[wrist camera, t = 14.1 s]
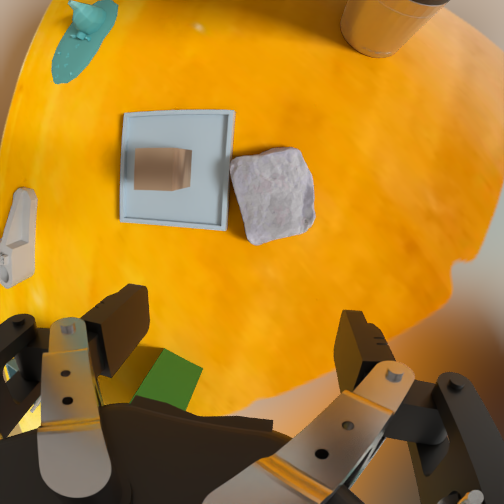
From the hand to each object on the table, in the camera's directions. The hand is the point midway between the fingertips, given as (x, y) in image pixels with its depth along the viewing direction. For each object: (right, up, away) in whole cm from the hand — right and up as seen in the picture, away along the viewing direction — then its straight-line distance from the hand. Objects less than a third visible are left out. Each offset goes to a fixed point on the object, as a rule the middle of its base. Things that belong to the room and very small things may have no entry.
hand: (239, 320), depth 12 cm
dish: (-10, +14, +29) cm, 34 cm away
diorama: (-29, +39, +24) cm, 54 cm away
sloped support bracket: (-43, +6, +35) cm, 56 cm away
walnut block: (-10, +14, +28) cm, 33 cm away
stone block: (+4, +11, +29) cm, 31 cm away
